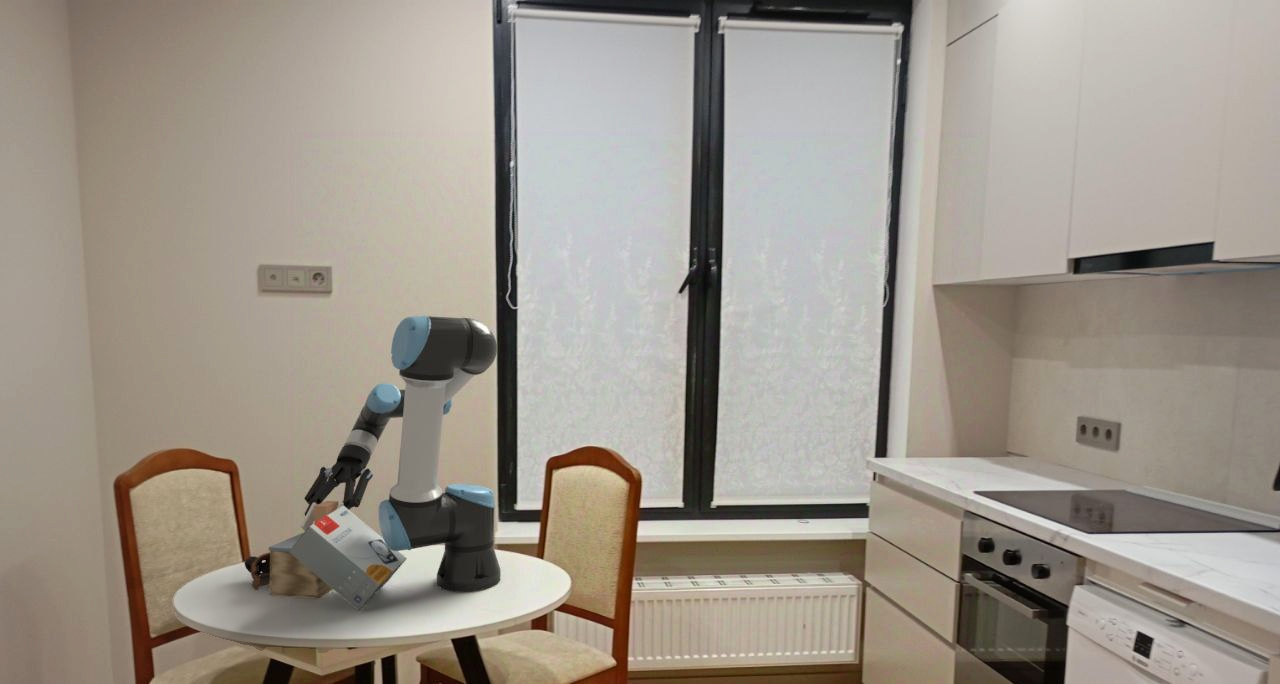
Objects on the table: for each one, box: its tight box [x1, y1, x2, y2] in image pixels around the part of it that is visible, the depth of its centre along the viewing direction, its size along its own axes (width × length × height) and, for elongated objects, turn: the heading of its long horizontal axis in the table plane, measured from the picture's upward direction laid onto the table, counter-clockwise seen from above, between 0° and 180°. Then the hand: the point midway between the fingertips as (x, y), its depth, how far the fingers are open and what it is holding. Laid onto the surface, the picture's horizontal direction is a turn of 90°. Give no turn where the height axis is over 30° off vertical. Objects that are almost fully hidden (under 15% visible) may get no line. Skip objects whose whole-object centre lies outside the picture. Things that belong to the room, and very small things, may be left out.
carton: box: [268, 551, 334, 599], centre depth 157 cm, size 12×14×10 cm
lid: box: [268, 500, 339, 552], centre depth 157 cm, size 13×14×8 cm
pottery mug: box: [244, 552, 270, 591], centre depth 158 cm, size 12×10×8 cm
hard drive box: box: [289, 505, 407, 611], centre depth 149 cm, size 16×8×20 cm
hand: (317, 529), depth 159 cm, fingers open, 6 cm apart
